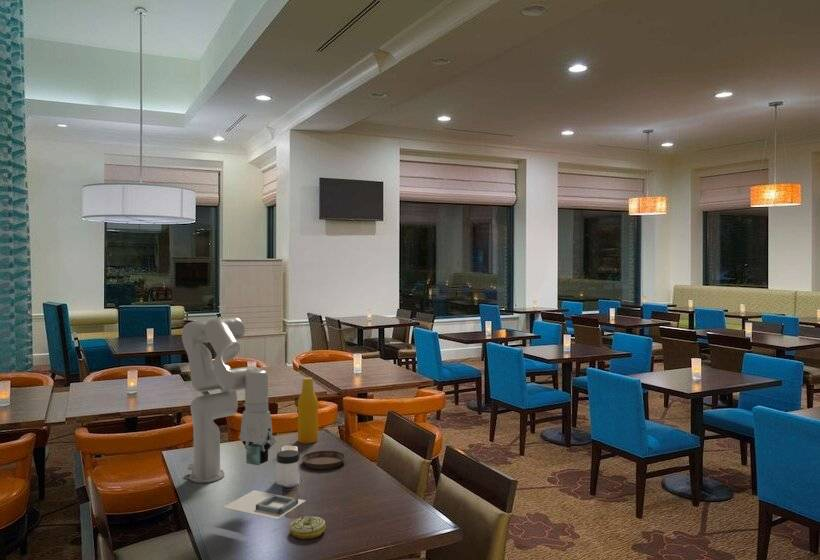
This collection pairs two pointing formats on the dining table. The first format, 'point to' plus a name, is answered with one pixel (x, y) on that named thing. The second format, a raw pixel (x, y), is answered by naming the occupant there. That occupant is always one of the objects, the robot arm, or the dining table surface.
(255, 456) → the teal block
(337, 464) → the plant saucer
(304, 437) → the beer bottle
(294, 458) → the jar
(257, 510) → the board
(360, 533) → the dining table surface
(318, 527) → the decorated donut
